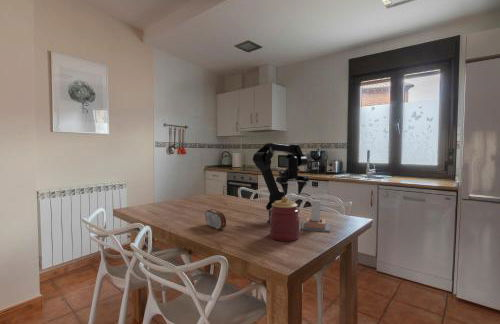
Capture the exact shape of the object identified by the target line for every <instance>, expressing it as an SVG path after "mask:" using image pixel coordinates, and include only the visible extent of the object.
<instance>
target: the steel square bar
mask: <svg viewBox="0 0 500 324" xmlns="http://www.w3.org/2000/svg"><path fill="white" fill-rule="evenodd" d="M310 212H311V217H310V218H311V222H320V219H321V199H316V198H315V199H311V211H310Z"/></svg>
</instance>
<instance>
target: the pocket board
mask: <svg viewBox="0 0 500 324" xmlns="http://www.w3.org/2000/svg"><path fill="white" fill-rule="evenodd" d="M300 229H301V231H309V232H319V233H320V232H322V233H331V231H330V229H331V227H330V223H329V222H326V218H320V222H311V217H306V220H305V221H302V224H301V227H300Z"/></svg>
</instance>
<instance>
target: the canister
mask: <svg viewBox="0 0 500 324" xmlns="http://www.w3.org/2000/svg"><path fill="white" fill-rule="evenodd" d="M298 205H299V204H298V203H296V202H295V201H294V200H290V199H289V200H288V197H287V196H286V195H285V196H284V197H282V200H278V201H275V202H274V203H272V208H270V210H269V211H270V212H271V216H270V223H269V236H270V238H271V239H272V240H274V241H281V242H291V241H296V240H299V238H300V237H299V236H300V216H299V213H300V212H301V210H300V209H299V208H298Z"/></svg>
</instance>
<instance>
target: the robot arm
mask: <svg viewBox="0 0 500 324" xmlns="http://www.w3.org/2000/svg"><path fill="white" fill-rule="evenodd" d="M274 152H282V153H284V154H286V156H285V157H284V158H285V159H286V160H287V168H286V169H285V171H284V170H279V172H278V176H277V177H276V179H275V176H274V174H273V172H272V168H271V164H272V160H271V159H272V158H273V157H274ZM252 162H253V163H254V165H255V166H256V167H257V169H258V170H259V171H260V172H261V174H262V178H263V180H264V181H265V185H266V187H267V190H268V193H269V197H268V203H266V204H267V205H266V206H265V208H266V211H268V219H267V220H266V222H267V223H269V224H270V216H271V212H270V208H272V203H274V202H275V201H278V200H282V197H284V196H285V197H286V196H287V195H288V187H289V183H288V182H294V181H295V182H297V194H298V195H301V192H302V191H303V189H304V187H305V185H306V184H307V183H308V182H310V177H309V176H307V175H299V171H300V168H299V167H305V166H307V165H308V163H309V161H308V158H307V157H306V154H304V153H303V151H302V148H301V147H300V144H298V143H297V144H296V143H294V144H293V143H292V144H291V143H290V144H288V143H287V144H280V143H274V142H267V143H265V144H264V145H263V146H262V147H261V148H259V149H258V150H257V151H256V152H255V153H254V154H253V157H252ZM277 183H278V184H279V185H280V186H281V188H282V191H280V190H279V187H278V185H277Z"/></svg>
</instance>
